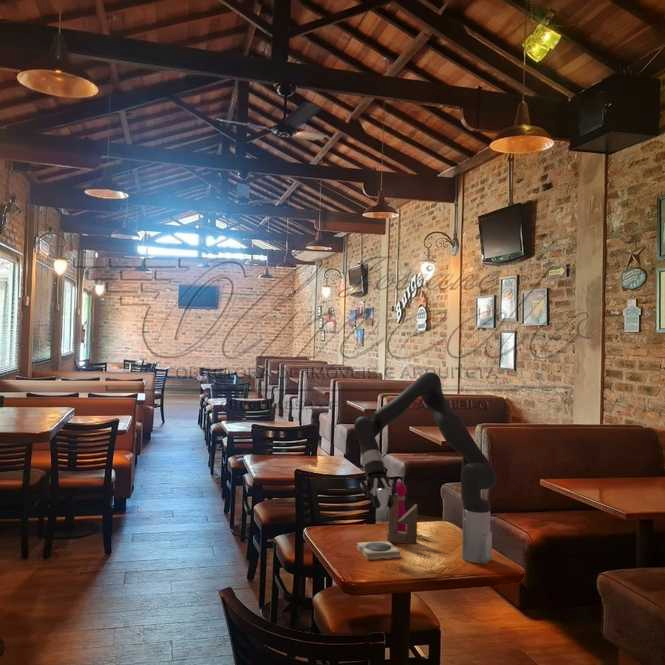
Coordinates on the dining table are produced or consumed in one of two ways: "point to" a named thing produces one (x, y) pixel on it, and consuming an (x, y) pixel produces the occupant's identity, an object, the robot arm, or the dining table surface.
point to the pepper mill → (401, 502)
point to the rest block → (378, 550)
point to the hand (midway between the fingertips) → (384, 506)
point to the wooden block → (407, 519)
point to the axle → (382, 504)
